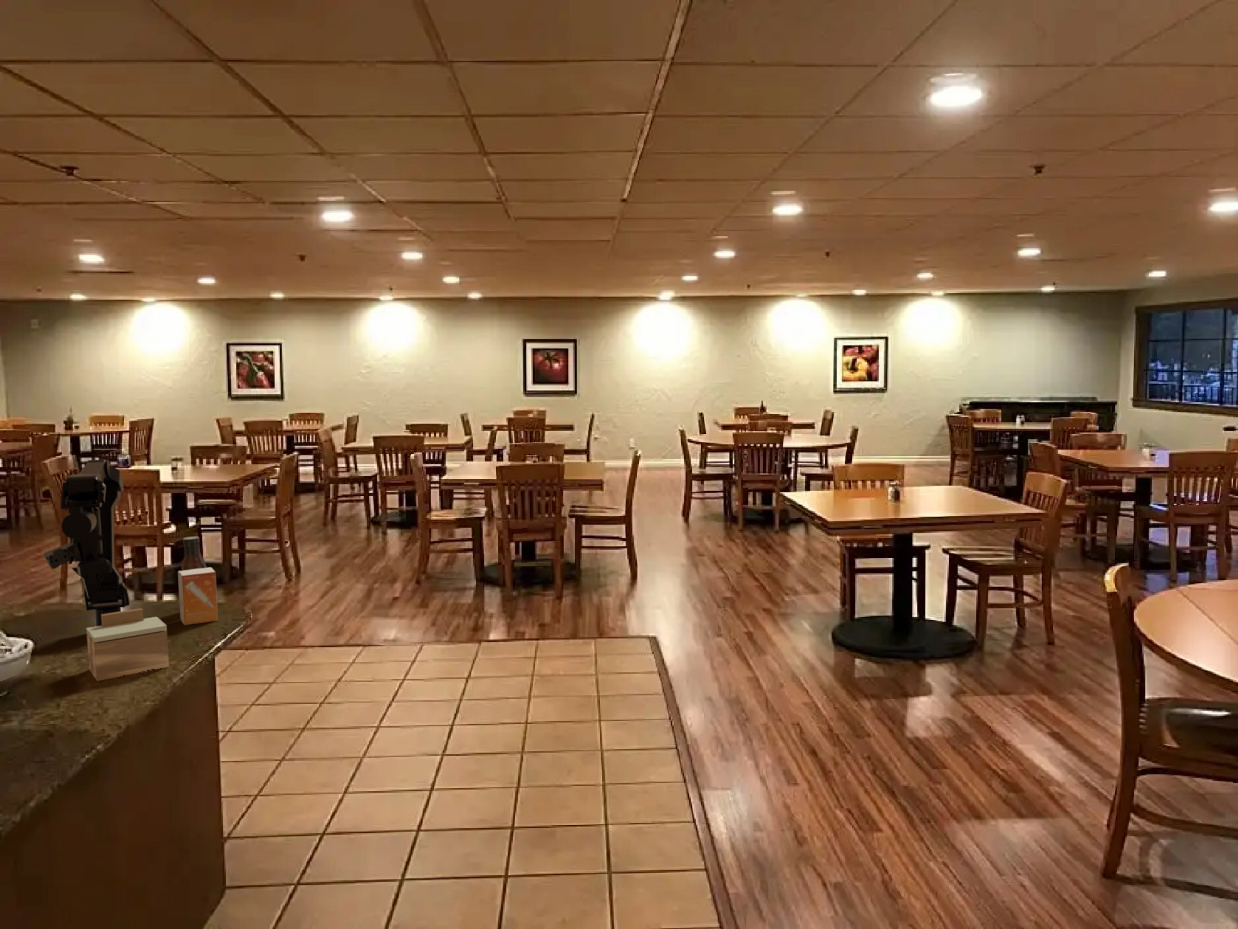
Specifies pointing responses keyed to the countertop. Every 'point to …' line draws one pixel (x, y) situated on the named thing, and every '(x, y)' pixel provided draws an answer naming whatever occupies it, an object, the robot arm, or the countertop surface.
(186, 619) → the small box
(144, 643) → the box
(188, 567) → the sauce bottle
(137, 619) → the lid
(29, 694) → the countertop surface
